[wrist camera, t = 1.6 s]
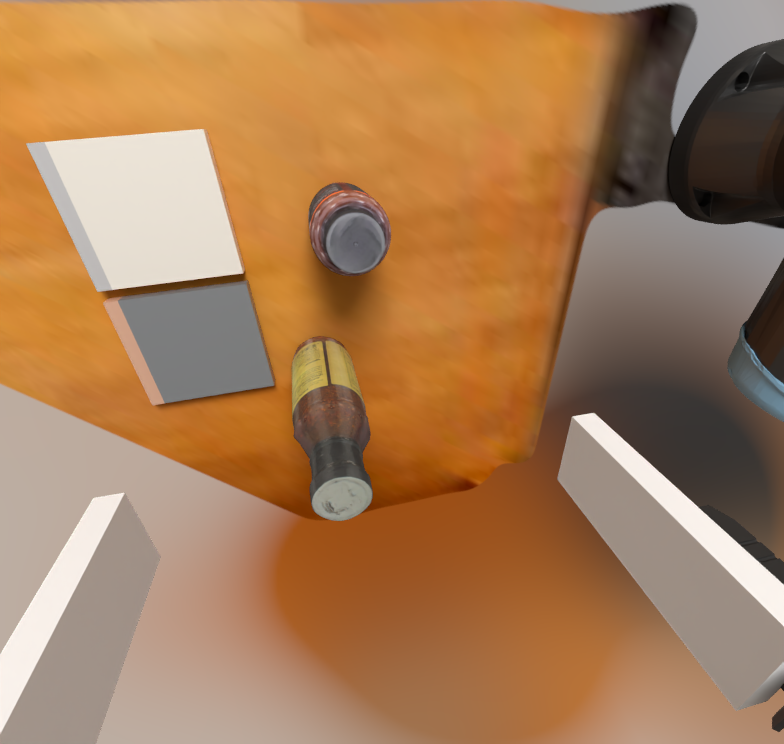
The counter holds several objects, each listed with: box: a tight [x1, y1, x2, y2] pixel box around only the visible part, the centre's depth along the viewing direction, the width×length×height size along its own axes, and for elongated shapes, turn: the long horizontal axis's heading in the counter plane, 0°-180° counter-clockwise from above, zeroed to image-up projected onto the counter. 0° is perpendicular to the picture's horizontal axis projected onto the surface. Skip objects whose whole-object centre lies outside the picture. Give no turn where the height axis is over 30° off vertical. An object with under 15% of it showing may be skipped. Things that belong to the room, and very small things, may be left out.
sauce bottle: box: [292, 336, 373, 521], centre depth 33 cm, size 6×6×20 cm
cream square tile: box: [26, 129, 245, 292], centre depth 32 cm, size 12×11×1 cm
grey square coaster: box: [103, 280, 275, 405], centre depth 38 cm, size 12×11×1 cm
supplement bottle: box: [309, 183, 391, 276], centre depth 30 cm, size 6×6×11 cm
